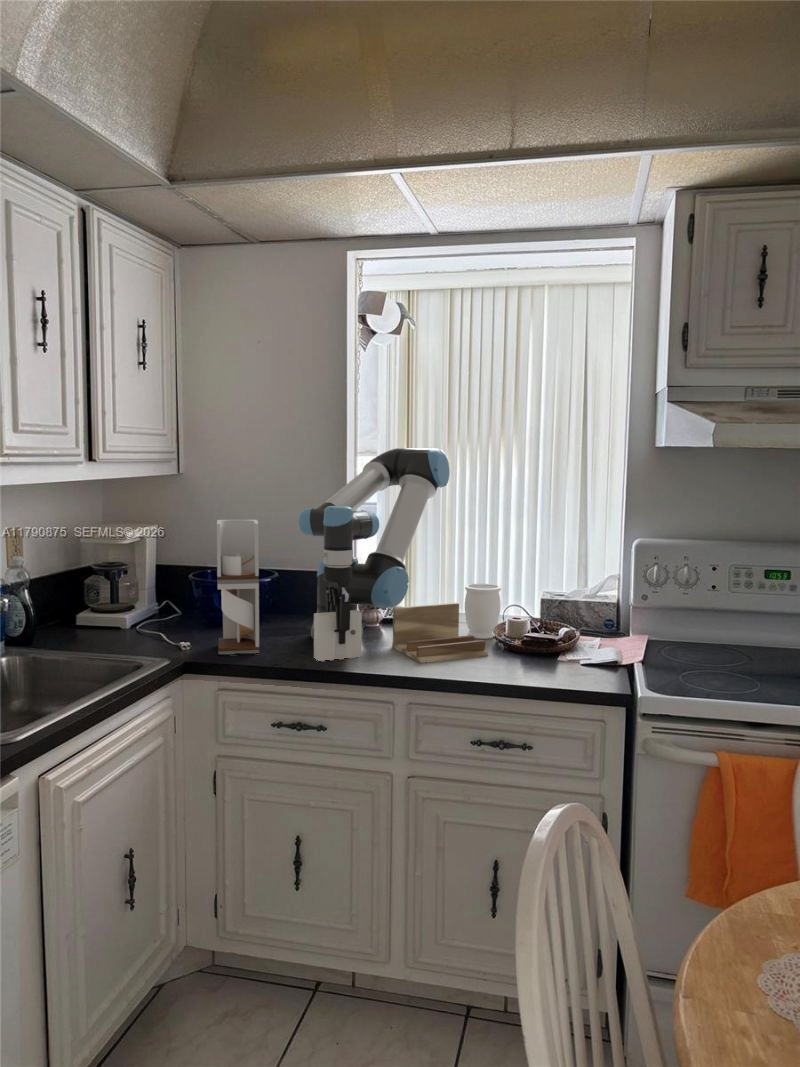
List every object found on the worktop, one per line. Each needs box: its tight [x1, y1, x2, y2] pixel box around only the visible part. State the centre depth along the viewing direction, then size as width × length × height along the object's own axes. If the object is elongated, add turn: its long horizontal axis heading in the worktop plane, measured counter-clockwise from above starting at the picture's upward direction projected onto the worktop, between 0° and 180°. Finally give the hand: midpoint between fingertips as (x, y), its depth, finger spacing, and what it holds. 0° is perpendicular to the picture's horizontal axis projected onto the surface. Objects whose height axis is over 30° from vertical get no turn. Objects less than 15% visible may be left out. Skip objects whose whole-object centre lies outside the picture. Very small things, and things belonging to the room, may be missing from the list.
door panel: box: [313, 609, 363, 662], centre depth 209 cm, size 4×12×12 cm, turn 115°
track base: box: [391, 602, 489, 664], centre depth 217 cm, size 18×20×11 cm
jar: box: [464, 583, 502, 640], centre depth 235 cm, size 11×10×15 cm
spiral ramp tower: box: [216, 519, 260, 654], centre depth 215 cm, size 11×11×35 cm
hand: (337, 653), depth 210 cm, fingers closed on door panel, 3 cm apart
